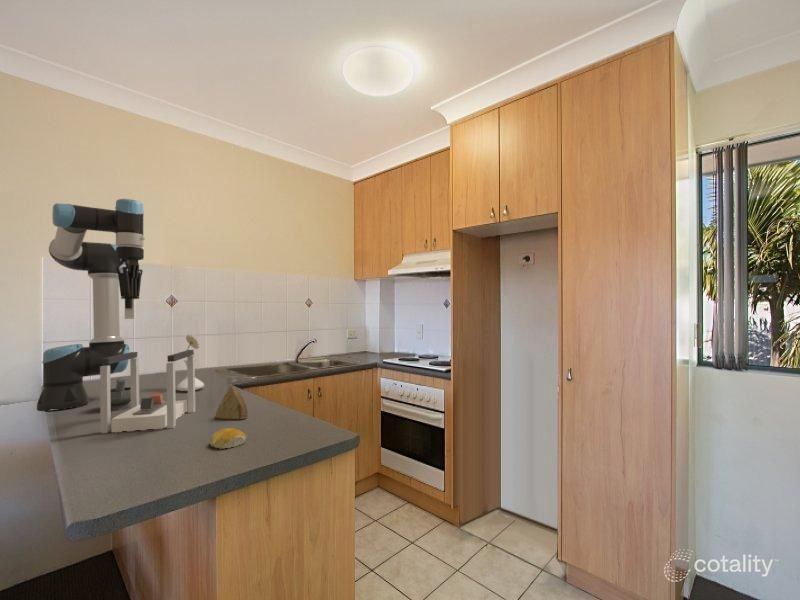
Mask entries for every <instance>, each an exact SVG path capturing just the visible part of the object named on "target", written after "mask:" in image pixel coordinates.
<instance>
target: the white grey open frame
mask: <svg viewBox="0 0 800 600" xmlns="http://www.w3.org/2000/svg"><path fill="white" fill-rule="evenodd" d="M186 359H187V365H186V371H187V372H188V391H187V399H185V400H176V361H174V362H166V366H165V367H166V369H165V370H166V401H163V402H162V404H153V409H143V410H142V409H140V406H141V403H140V379H139V378H140V371H139V370H140V369H139V368H140V367H139V366H140V364H139V363H140V362H139V357H136V358H132V359H129V360H130V364H129V366H130V370H129V371H130V372H129V373H130V387H131V401H130V409H128V410H127V411H124V412H123V413H120V414H119V415H116V416H114V417H113V418H111V417H112V416H111V415H112V413H111V412H112V410H111V398H110V389H111V374H110V365H108V366H100V375H99V386H100V387H99V391H100V393H99V395H100V396H99V398H100V399H99V400H100V406H99V408H100V413H99V414H100V434H107V433H109V432H111V433H113V432H114V433H123V432H122V431H127V432H136V431H135V430H141V431H147V430H146V429H154V430H164V429H165V428H166V429H174V428H176V427H177V419H178V417H179V418H180V417H181V416H183V415H184V414H186V413H187V412H188V414H189V413H191V414H192V413H193V412H194V413H195V412H196V390H195V378H196V375H195V374H196V372H195V371H196V370H195V369H196V368H195V367H196V366H195V365H196V364H195V363H196V361H195V359H196V358H195V355H192V356H189V357H186ZM187 372H186V373H187ZM185 412H186V413H185ZM182 414H183V415H182ZM175 426H176V427H175ZM163 428H164V429H163Z"/></svg>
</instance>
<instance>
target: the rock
mask: <svg viewBox="0 0 800 600" xmlns="http://www.w3.org/2000/svg"><path fill="white" fill-rule="evenodd" d="M218 405H219V406H218V407H217V410H216V412H215V415H214V419H219V420H244V419H248V410H247V405H246V403H245V400H244V397H243V395H241V392H240V391H239V390H238V389H237V388H236V387H234V386H229V388H228V389H227V391H226V393H225V394H224V396H223V398H222V400H221V401H220V404H218Z"/></svg>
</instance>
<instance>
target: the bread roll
mask: <svg viewBox="0 0 800 600" xmlns="http://www.w3.org/2000/svg"><path fill="white" fill-rule="evenodd" d="M246 440H247V435H246V433H245V432H243V431H242V430H240V429H236V428H232V427H226V428H222V429H219V430H217V431H216V432H214V433H213V434H212V436H211V439H210V441H209V443H210V446H211V447H212V448H216V449H217V448H219V449H218V450H226V449H225V448H228V449H232V448H231V447H233V448H236V446H237V447H239V445H240V446H242V445H243V444H244V443H245V442H246Z"/></svg>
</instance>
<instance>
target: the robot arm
mask: <svg viewBox="0 0 800 600" xmlns="http://www.w3.org/2000/svg"><path fill="white" fill-rule="evenodd" d="M114 209H115V210H114ZM114 209H106V208H99V207H90V206H83V205H78V204H77V205H76V204H71V203H55V204H53V205H52V214H51V215H52V218H51V219H52V224H53V226H55V227H57V229H56V232H55V233H56V234H55V236H54V239H52V240H51V241H50V242H49V246H48V252H49V254H50V255H49V256H50V257H51V258H52V259H53V260H54V261H55V262H56V263H57V264H59V265H61V266H62V267H65V268H66V269H70V270H74V271H83V272H87V277H89V278H91V280H92V301H93V302H92V304H93V305H92V310H93V338H92V339H91V340H90V341H89V342H88V344H89V345H88V346H84V345H83V344H82V343H76V344H69V345H61V346H56V347H52V348H47V349H46V350H45V351H44V352H43V356H42V362H41V364H42V366H43V367H42V391H41V393H40V395H39V398H38V400H37V403H36V411H38V412H49V411H48V410H50V409H64V408H70V409H72V408H71V407H75V408H78V407H77V406H79V407H82V406H81V405H83V406H85V405H84V404H86V405H88V404H89V403H90V399H89V395H88V393H87V391H86V388H85V386H84V381H83V380H84V377H93V376H100V366H108V365H110V375H112V374H117V373H122V372H124V371H125V370H126V369H127V367H128V363H129V360H130V359H128V360H124V361H120V362H116V363H112V364H108V365H102V359H103V358H107V357H112V356H116V355H121V354H125V353H130V345H129V344H127V343H125V339H124V338H123V337H122V336H120V335H121V334H120V331H121V329H120V299H121V300H124V319H125V320H130V319H131V320H132V319H133V320H134V319H137V300H139V299H140V292H141V285H142V284H141V282H142V276H143V271H144V270H143V269H140V264H139V261H140V260H144V256H145V255H144V253H145V252H144V249H143V247H144V241H146V238H145V237H144V214H145V211H144V204H143V203H142V202H141V201H139V200H136V199H130V198H119V199H117V200H115V207H114ZM88 231H95V232H107V233H114V234H115V244H114V243H113V244H112V243H104V242H93V241H92V242H89V241H84V238H85V236H86V233H87V232H88ZM119 292H120V293H119ZM119 294H120V295H119ZM88 402H89V403H88ZM87 403H88V404H87ZM64 410H65V409H64Z"/></svg>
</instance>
